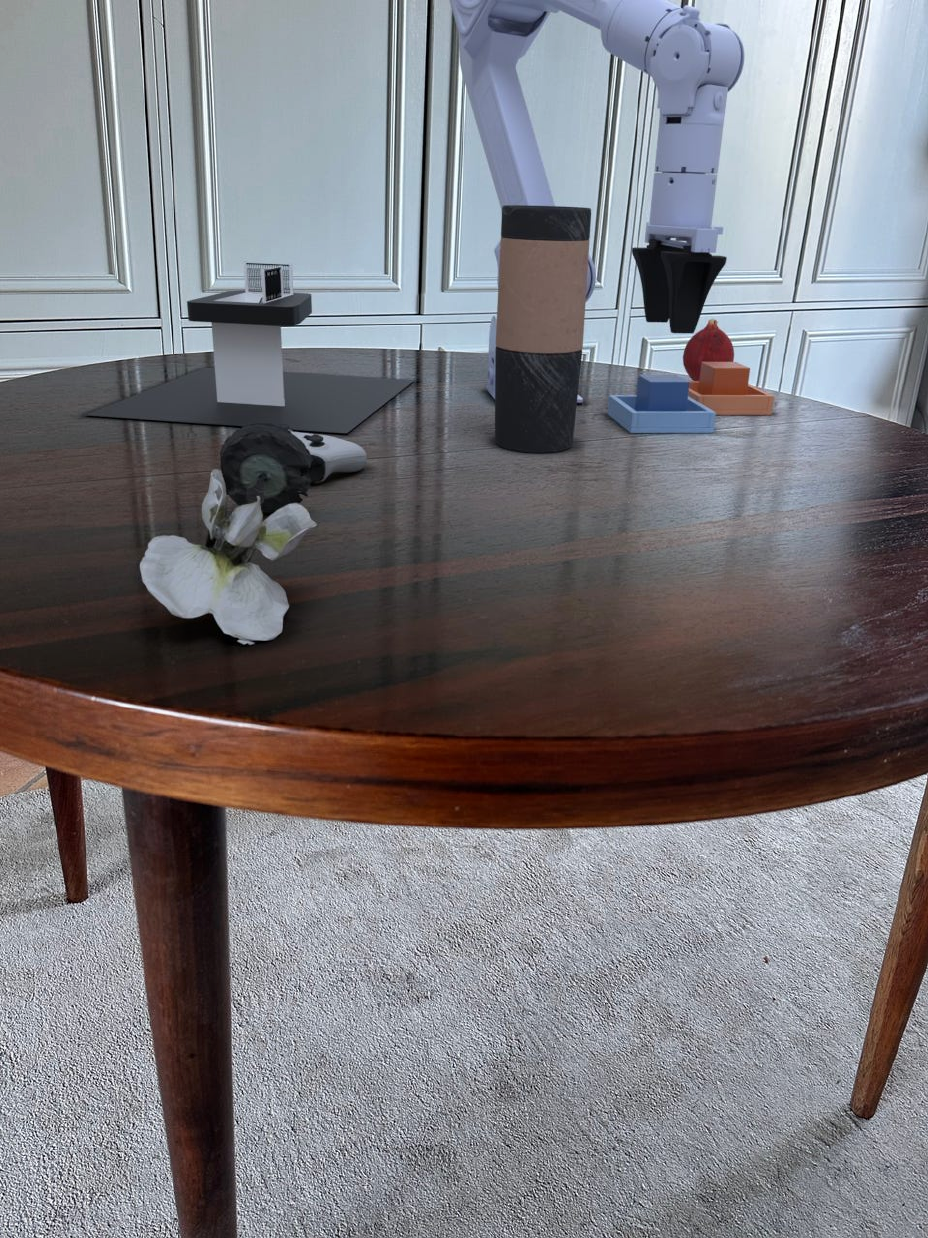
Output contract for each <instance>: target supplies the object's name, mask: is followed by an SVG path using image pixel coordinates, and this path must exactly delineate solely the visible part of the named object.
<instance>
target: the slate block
mask: <svg viewBox="0 0 928 1238" xmlns="http://www.w3.org/2000/svg"><path fill="white" fill-rule="evenodd" d="M688 381H689V380H687V379H685V378H683V377H681V376H680V375H678V374H638V377H637V387H636V395H637V396H636V406H635V411H636V412H637V411H686V409H687V400H688V392H689V384H690V383H689V382H688Z"/></svg>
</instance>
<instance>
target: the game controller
mask: <svg viewBox="0 0 928 1238" xmlns="http://www.w3.org/2000/svg"><path fill="white" fill-rule="evenodd" d="M278 426H279V427H280V426H281V427H282V428H283V429H285V430H287V431H290V432H291V433H292V434H293V435H295V436H296V437H297V438H298V439H300V440H301V441H302V443H304V444H305V446H306V448H307V449H308V450H309V452H310V455H311V456H312V458H313V461H312V462H311V466H310V468H308V467H305V468H301V469H299V471H300V474H301V473H302V474H306V475H307V474H308V473H309V474H310V475H311V476H310V479H311V484H319V483H322V482H324V481H325V480H327V478H328V477H329V476H330V475H332V473H355V472H358V471H360V470H362V469H364V467H365V466H366V464H367V459H368V457H367V452H366V451H365V449H364V448H363V447H362V446H360V445H359V444H357V443H355V442H351V441H348V440H346V439H342V438H338V437H336V436H331V435H326V434H325V435H324V434H317V433H309V432H299V431H293V430H291V429H290V426H289V425H288V424H280V425H278Z"/></svg>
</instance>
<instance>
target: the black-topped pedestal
mask: <svg viewBox="0 0 928 1238" xmlns="http://www.w3.org/2000/svg"><path fill="white" fill-rule="evenodd" d="M255 267H257V268H255ZM262 267H264V268H262ZM287 268H288V269H287ZM284 271H285V272H284ZM254 272H255V273H254ZM243 273H244V274H243V275H244V289H243V290H241V289H240V290H227V291H224V292H219V293H215V294H211V295H207V296H202V297H199V298H195V299H191V300H187V301H186V305H187V306H186V308H187V319H188V321H189V322H194V323H195V322H196V323H197V322H198V323H210V324H211V333H212V349H213V362H214V367H202V368H199V369H198V370H195V371H192V372H190V373H187V374H185V375H183V376H179V377H177V378H175V379H172V380H170V381H167V382H165V383H162V384H160V385H156V386H154V387H152V388H150V389H147V390H145V391H142V392H139V393H136V394H134V395H132V396H129V397H127V398H125V399H122V400H119V401H116V402H114V403H112V404H109V405H106V406H104V407H101V408H99V409H96V410H94V411H91V412H89V413H86V414H85V416H91V417H104V418H105V417H107V418H119V419H120V418H122V419H134V420H135V419H136V420H147V421H148V420H149V421H163V422H178V423H191V424H204V425H205V424H207V425H219V426H220V425H223V426H233V427H234V426H237V427H244V426H246V425H250V424H254V423H271V424H274V425H276V426H278V425H280V424H288V425H289V426H290V429H289V430H291V431H294V430H295V431H306V432H321V433H336V434H338V433H339V434H349V432H350V431H352V430H353V429H354V428H356V427H357V426H358V425H360V424H361V423H362V422H363V421H365V420H366V419H368V418H369V417H370V416H371V415H372V414H373V413H375V412H376V411H377V410H379V409H380V408H382V406H384V405H385V404H386V403H388V402H389V401H390V400H391V399H393V398H394V397H395V396H396V395H398V394H399V393H400V392H401V391H403V390H404V389H405V388H407V387H408V386H409V385H411V384H412V383H413V382H414V381H415V380H414V379H402V378H400V379H399V378H385V377H384V378H383V377H367V376H350V375H336V374H335V375H334V374H319V373H317V374H316V373H301V372H284V367H283V366H284V362H283V341H282V327H294V326H299V325H300V324H302V323H303V321H304V320H306V319H307V318H308V317H309V316H310V315H311V314H312V313H313V303H312V302H313V300H312V299H313V298H312V293H307V292H294V279H293V278H294V276H293V263H292V262H289V263H288V264H285V263H284V264H282V263H281V264H280V263H260V262H259V263H258V262H248V261H247V260H244V261H243ZM286 274H287V277H286ZM256 276H257V278H256ZM249 277H250V278H249ZM288 279H289V282H288ZM251 281H252V282H251ZM258 281H259V282H258ZM253 285H254V286H253ZM260 285H261V286H260ZM251 289H253V290H251ZM258 289H260V290H258ZM288 290H289V291H288Z"/></svg>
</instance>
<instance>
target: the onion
mask: <svg viewBox="0 0 928 1238" xmlns="http://www.w3.org/2000/svg"><path fill="white" fill-rule="evenodd" d="M718 323H719V322H718V321H717V320H716V319H715V318H711V319H709V320H708V321H707V324H706V326H705V327H703V328H702V329H700V330H699V331H697V332H696V333H695V334H693V335H692V337H690V339H689V340H688V341H687V343H686V345H685V347H684V349H683V355H682V365H683V367H684V370H685V372H686V373H687V375H688V377H689V378H690V379H691V381H699V379H700V371H701V363H702V362H735V348H734V346H733V342H732V341H731V338H730V337H729V336H728V335H727V334H726V333H725V332H724V331H723V330H722V329H721V328H720V327H719V326H718Z"/></svg>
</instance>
